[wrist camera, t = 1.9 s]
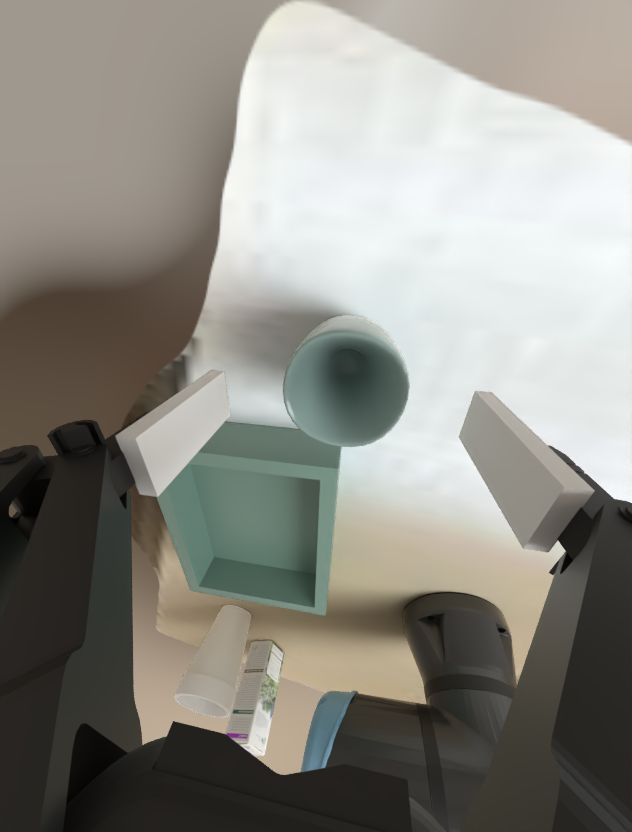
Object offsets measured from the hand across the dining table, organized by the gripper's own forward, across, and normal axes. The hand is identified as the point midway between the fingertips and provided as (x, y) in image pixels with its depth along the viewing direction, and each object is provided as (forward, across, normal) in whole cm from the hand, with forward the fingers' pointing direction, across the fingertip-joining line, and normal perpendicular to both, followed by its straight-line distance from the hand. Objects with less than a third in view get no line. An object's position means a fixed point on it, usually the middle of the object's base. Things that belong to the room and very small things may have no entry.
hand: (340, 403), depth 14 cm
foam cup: (+11, +18, +54) cm, 58 cm away
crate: (+11, +10, +22) cm, 27 cm away
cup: (+12, 0, 0) cm, 12 cm away
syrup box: (+11, +12, +66) cm, 68 cm away
